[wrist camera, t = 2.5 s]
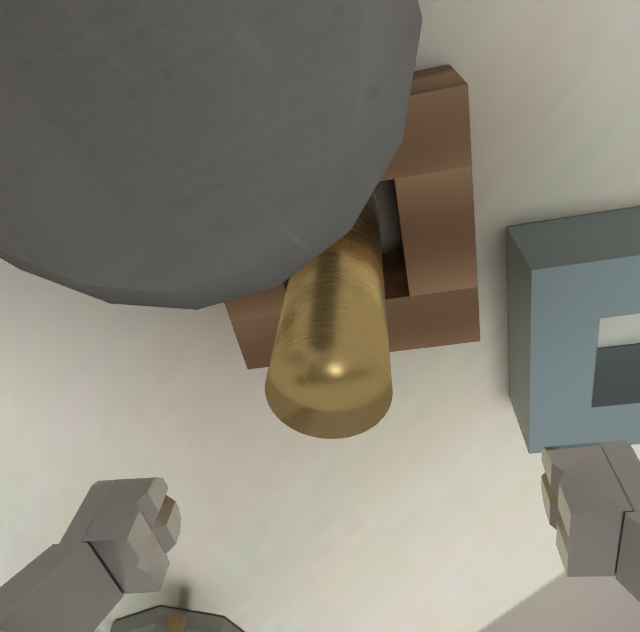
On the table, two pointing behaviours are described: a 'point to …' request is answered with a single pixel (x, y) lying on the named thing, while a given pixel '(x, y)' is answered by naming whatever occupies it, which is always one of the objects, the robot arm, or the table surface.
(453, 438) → the table surface
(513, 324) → the slate socket block
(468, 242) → the walnut mount
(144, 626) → the tankard
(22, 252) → the flask
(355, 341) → the brass peg
